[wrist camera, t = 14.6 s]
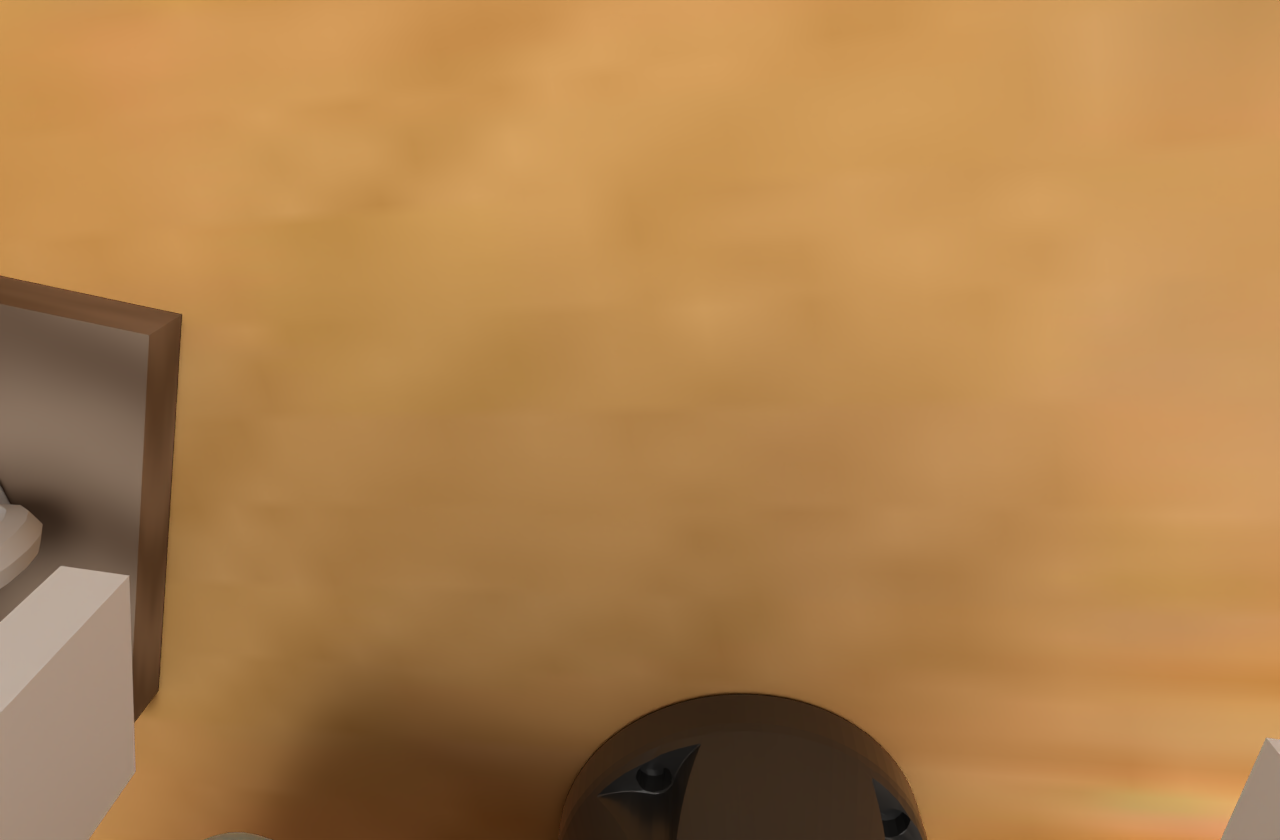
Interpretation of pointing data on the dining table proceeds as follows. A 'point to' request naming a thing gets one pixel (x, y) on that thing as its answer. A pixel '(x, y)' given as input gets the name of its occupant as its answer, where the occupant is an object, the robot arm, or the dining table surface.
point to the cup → (16, 539)
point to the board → (91, 445)
